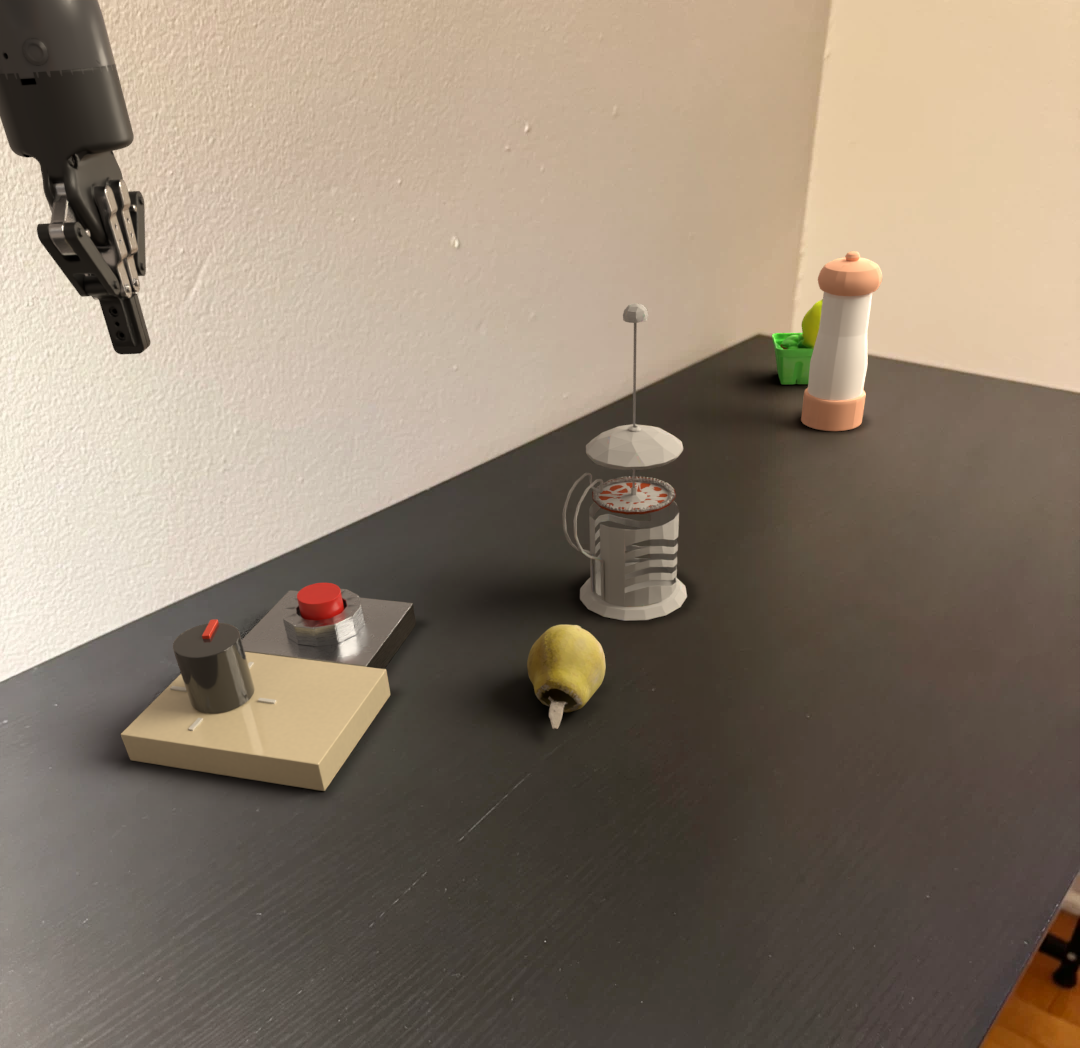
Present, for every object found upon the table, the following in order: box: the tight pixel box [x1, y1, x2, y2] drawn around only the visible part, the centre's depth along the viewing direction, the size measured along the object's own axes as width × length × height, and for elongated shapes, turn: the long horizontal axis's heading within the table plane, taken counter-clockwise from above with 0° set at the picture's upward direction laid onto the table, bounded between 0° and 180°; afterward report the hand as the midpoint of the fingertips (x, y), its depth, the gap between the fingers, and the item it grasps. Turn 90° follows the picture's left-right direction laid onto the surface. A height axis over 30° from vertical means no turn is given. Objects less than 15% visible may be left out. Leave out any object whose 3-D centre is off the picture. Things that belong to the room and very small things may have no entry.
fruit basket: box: [771, 298, 823, 386], centre depth 129 cm, size 11×9×11 cm
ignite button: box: [297, 582, 344, 621], centre depth 82 cm, size 4×4×2 cm
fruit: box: [526, 624, 607, 731], centre depth 75 cm, size 6×6×10 cm
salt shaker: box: [800, 250, 883, 432], centre depth 115 cm, size 7×7×19 cm
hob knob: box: [172, 618, 255, 713], centre depth 73 cm, size 5×5×5 cm
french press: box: [562, 303, 688, 622], centre depth 81 cm, size 10×12×25 cm
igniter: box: [241, 588, 417, 669], centre depth 83 cm, size 12×10×4 cm
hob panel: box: [120, 652, 391, 792], centre depth 75 cm, size 16×12×3 cm
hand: (133, 350), depth 71 cm, fingers closed
